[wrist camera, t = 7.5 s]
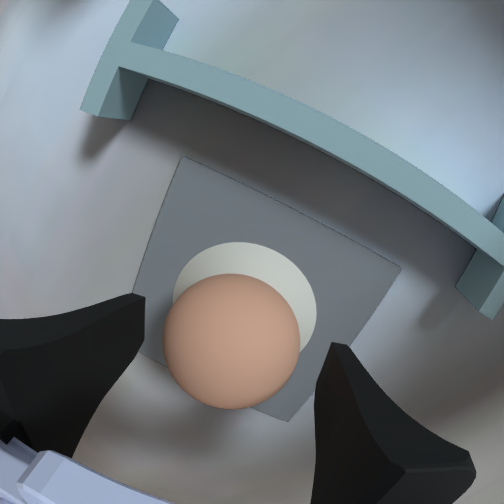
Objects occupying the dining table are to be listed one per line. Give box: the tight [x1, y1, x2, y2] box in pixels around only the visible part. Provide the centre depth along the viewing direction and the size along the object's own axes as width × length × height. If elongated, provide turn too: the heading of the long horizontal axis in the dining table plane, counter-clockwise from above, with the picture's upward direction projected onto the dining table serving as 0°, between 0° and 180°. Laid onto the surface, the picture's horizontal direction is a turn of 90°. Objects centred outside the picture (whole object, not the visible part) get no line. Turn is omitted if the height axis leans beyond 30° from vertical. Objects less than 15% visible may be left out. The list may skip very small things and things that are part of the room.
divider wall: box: [80, 0, 504, 320], centre depth 10 cm, size 18×5×2 cm, turn 64°
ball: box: [162, 274, 300, 409], centre depth 11 cm, size 5×5×5 cm
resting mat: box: [133, 156, 402, 422], centre depth 14 cm, size 10×10×1 cm
